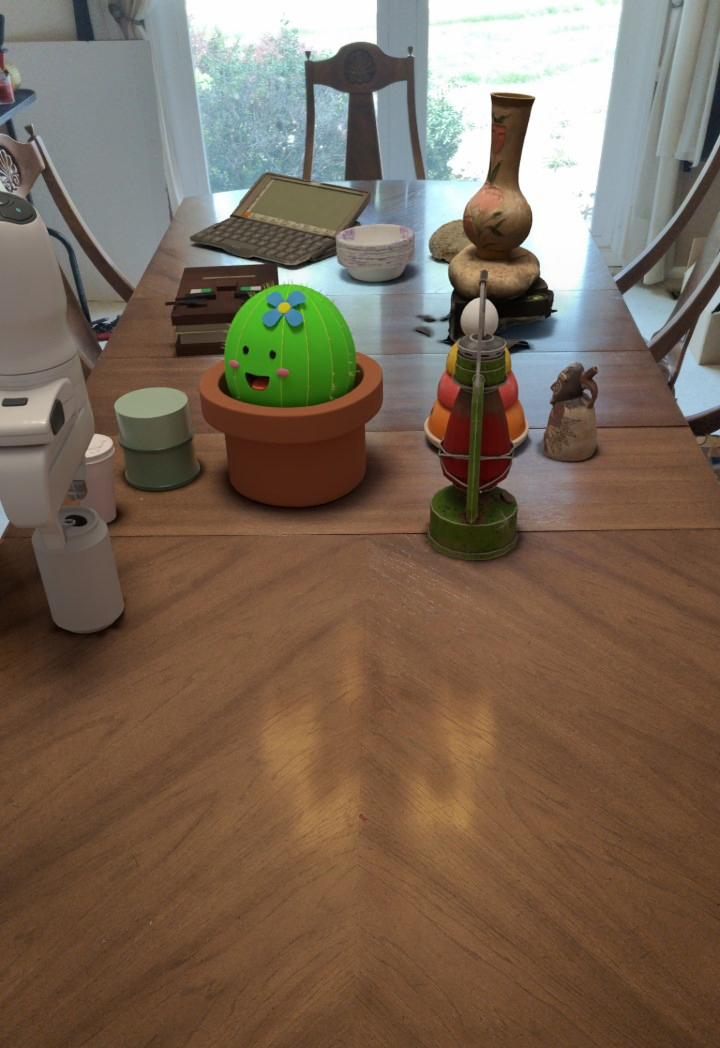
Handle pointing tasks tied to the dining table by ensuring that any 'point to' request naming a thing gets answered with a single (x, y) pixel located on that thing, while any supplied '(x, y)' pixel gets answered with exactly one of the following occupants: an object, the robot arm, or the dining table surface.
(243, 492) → the potted cactus
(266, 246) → the laptop
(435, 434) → the stacking toy
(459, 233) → the decorative item
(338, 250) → the paper bowls
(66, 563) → the can
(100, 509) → the smoothie
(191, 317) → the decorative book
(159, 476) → the cup stack
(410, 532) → the dining table surface
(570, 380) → the figurine
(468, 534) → the lantern
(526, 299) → the vase
